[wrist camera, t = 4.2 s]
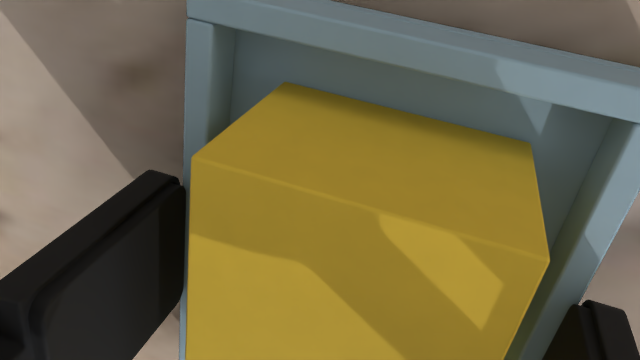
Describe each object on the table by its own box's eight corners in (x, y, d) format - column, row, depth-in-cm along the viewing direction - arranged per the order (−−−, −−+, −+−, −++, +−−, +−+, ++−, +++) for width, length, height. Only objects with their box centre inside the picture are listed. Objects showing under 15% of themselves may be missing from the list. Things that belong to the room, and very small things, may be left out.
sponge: (283, 80, 10) (188, 156, 7) (532, 142, 9) (552, 260, 6) (252, 344, 13) (180, 472, 10) (427, 406, 12) (406, 565, 9)
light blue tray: (224, -24, 9) (185, -14, 8) (661, 71, 8) (691, 99, 7) (203, 354, 14) (177, 394, 13) (472, 452, 13) (470, 506, 12)
